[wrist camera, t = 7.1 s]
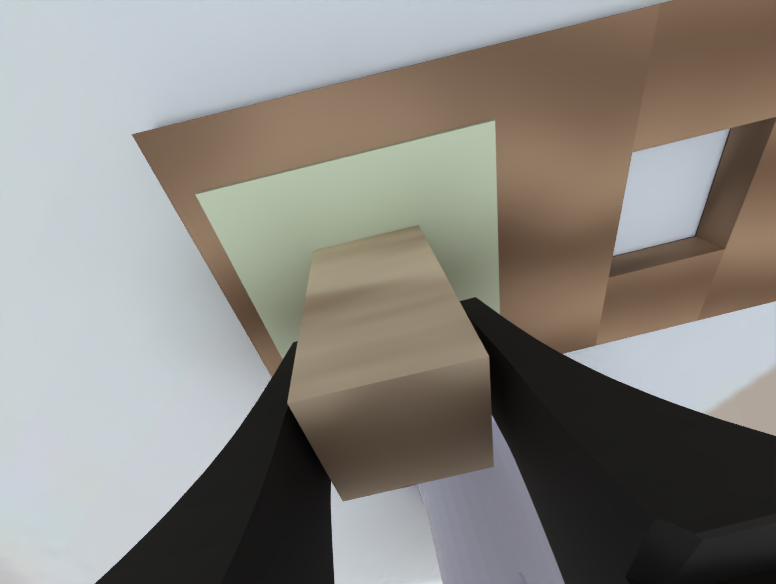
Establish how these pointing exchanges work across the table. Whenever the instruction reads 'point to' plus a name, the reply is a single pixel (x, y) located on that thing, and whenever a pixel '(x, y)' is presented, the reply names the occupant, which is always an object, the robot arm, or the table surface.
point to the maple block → (389, 368)
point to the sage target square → (363, 217)
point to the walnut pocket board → (544, 162)
